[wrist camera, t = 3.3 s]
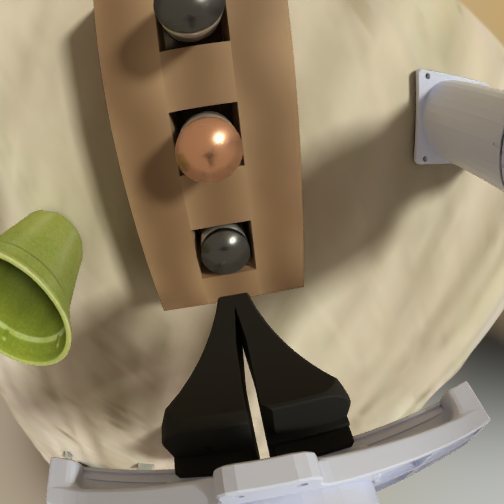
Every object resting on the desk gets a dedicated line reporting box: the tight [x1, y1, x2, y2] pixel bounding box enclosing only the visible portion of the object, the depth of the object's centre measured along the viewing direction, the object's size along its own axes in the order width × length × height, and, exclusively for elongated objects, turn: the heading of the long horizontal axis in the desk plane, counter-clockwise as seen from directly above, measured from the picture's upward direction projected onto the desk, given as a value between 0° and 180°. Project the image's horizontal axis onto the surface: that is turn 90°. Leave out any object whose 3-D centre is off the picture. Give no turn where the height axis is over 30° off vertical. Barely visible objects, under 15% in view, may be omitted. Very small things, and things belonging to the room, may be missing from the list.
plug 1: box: [153, 0, 226, 42], centre depth 11 cm, size 3×3×4 cm
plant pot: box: [0, 210, 82, 366], centre depth 17 cm, size 9×9×9 cm
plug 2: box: [200, 222, 250, 274], centre depth 20 cm, size 3×3×4 cm
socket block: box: [93, 0, 304, 311], centre depth 17 cm, size 10×22×4 cm, turn 6°
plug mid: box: [175, 111, 243, 183], centre depth 14 cm, size 3×3×4 cm
